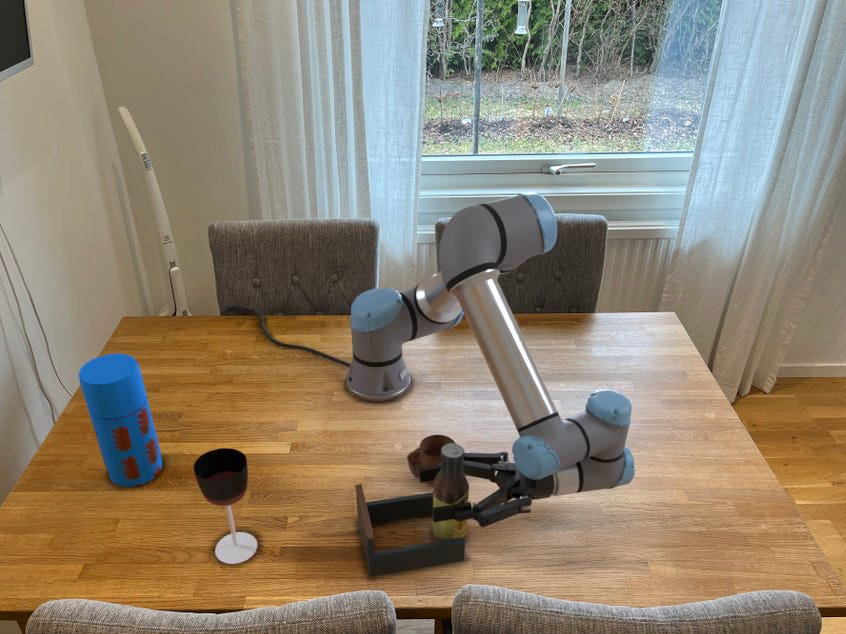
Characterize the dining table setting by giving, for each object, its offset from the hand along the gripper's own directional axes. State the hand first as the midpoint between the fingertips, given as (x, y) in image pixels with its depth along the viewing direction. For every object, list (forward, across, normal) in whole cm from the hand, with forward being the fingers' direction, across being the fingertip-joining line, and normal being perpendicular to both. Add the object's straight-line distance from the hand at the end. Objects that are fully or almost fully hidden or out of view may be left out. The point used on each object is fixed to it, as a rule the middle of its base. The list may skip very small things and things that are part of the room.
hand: (426, 494), depth 125 cm
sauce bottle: (-4, 0, -11) cm, 12 cm away
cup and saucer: (-7, +18, -11) cm, 22 cm away
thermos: (+54, +31, -11) cm, 63 cm away
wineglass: (+34, +5, -11) cm, 36 cm away
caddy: (+3, 0, -11) cm, 11 cm away
